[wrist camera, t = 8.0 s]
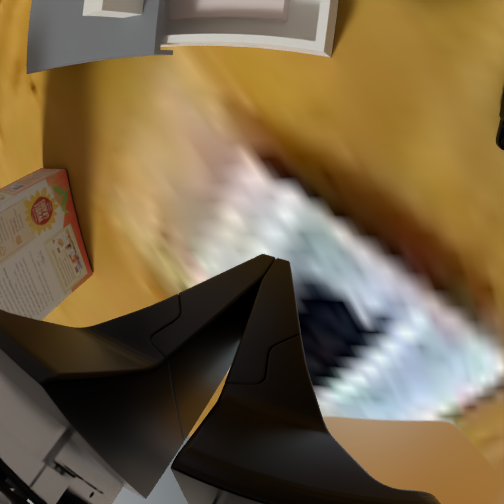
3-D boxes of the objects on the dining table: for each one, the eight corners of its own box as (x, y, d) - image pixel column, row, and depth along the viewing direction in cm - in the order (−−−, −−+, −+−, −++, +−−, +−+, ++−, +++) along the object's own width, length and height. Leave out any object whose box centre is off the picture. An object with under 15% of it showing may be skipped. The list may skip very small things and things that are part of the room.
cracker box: (40, 167, 30) (-101, 254, 13) (68, 167, 28) (-95, 270, 12) (66, 264, 37) (-41, 361, 21) (95, 275, 36) (-21, 387, 19)
